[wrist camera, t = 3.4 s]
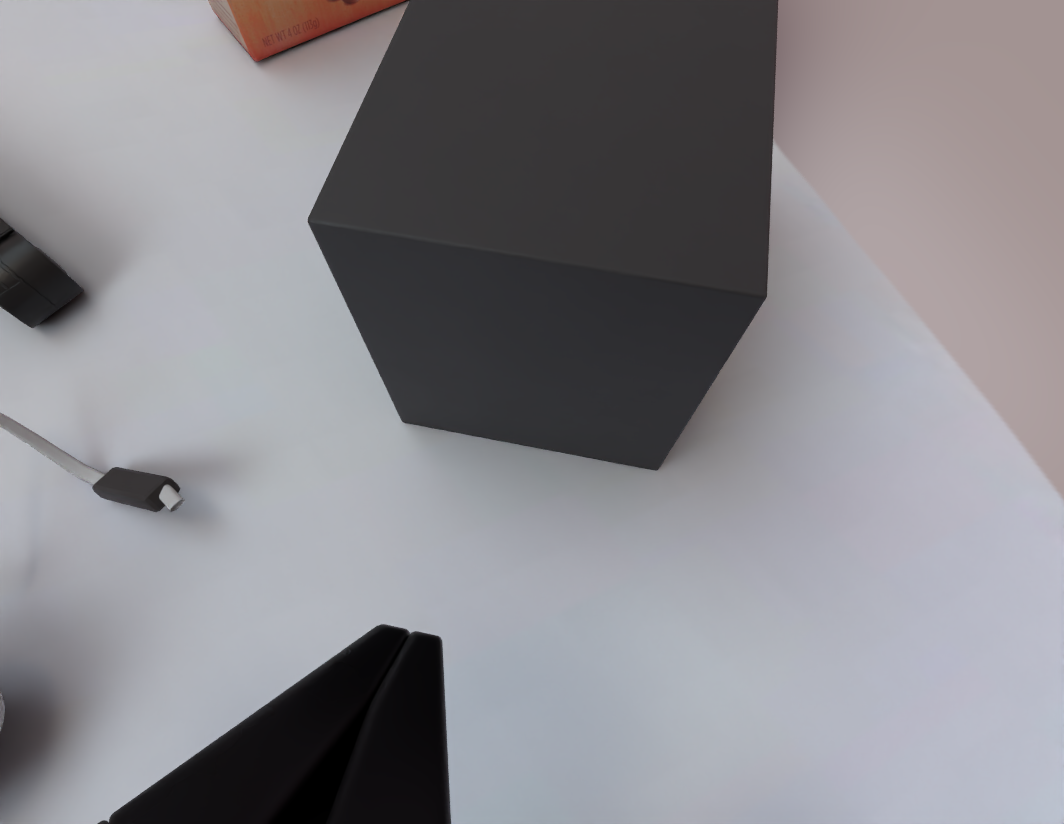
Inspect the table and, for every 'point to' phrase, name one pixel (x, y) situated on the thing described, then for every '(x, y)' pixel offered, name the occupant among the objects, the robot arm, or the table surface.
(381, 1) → the cracker box
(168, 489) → the clip-on lamp
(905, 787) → the table surface
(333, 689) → the robot arm
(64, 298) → the tablet stand
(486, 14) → the speaker
